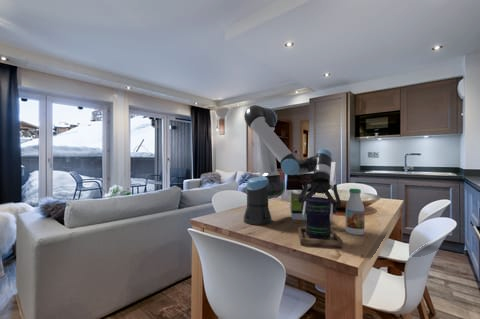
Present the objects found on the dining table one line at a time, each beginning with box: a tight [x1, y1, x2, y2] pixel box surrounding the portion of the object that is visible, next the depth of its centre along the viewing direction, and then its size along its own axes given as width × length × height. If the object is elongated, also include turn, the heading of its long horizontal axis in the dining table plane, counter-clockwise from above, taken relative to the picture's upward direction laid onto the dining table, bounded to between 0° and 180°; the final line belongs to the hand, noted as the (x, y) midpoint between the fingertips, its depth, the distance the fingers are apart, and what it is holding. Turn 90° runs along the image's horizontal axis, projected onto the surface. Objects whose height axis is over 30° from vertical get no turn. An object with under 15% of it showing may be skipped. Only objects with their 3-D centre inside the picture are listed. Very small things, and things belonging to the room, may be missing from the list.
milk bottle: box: [345, 188, 366, 236], centre depth 103 cm, size 8×8×20 cm
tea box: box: [289, 189, 309, 221], centre depth 131 cm, size 15×10×15 cm
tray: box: [297, 226, 343, 249], centre depth 94 cm, size 15×15×2 cm
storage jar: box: [305, 196, 332, 239], centre depth 94 cm, size 10×10×15 cm
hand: (317, 217), depth 91 cm, fingers open, 10 cm apart
